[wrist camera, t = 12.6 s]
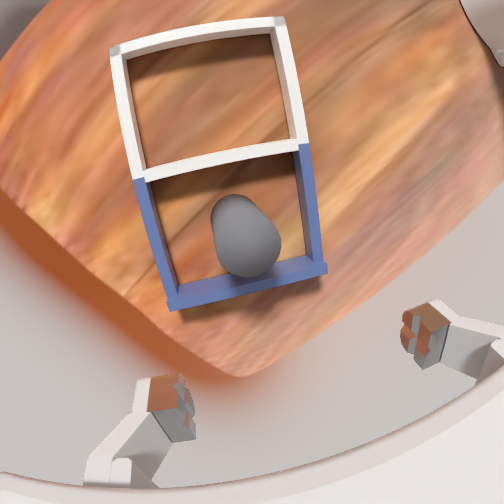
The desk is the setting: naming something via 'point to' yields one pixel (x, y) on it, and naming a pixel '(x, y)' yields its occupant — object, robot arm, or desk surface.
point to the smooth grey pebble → (244, 236)
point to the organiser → (222, 162)
